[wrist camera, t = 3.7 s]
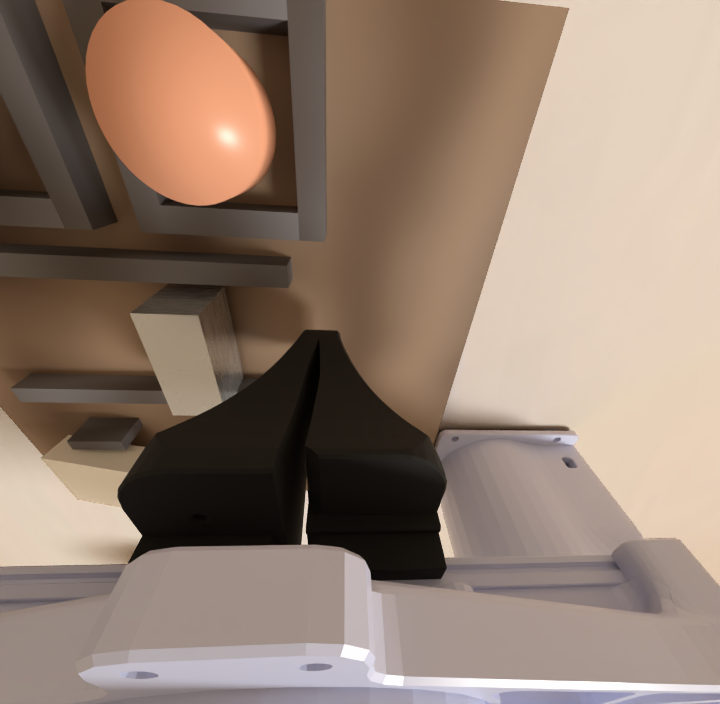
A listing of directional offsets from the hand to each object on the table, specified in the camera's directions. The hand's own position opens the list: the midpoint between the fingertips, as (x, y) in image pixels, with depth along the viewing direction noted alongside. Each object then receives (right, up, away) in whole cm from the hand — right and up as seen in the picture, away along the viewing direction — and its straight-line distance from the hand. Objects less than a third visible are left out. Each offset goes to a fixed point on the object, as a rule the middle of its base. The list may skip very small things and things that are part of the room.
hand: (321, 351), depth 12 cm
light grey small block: (-5, +1, +1) cm, 5 cm away
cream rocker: (-11, -6, +4) cm, 13 cm away
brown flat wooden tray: (-5, +1, +3) cm, 6 cm away
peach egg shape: (-2, +6, -4) cm, 8 cm away
